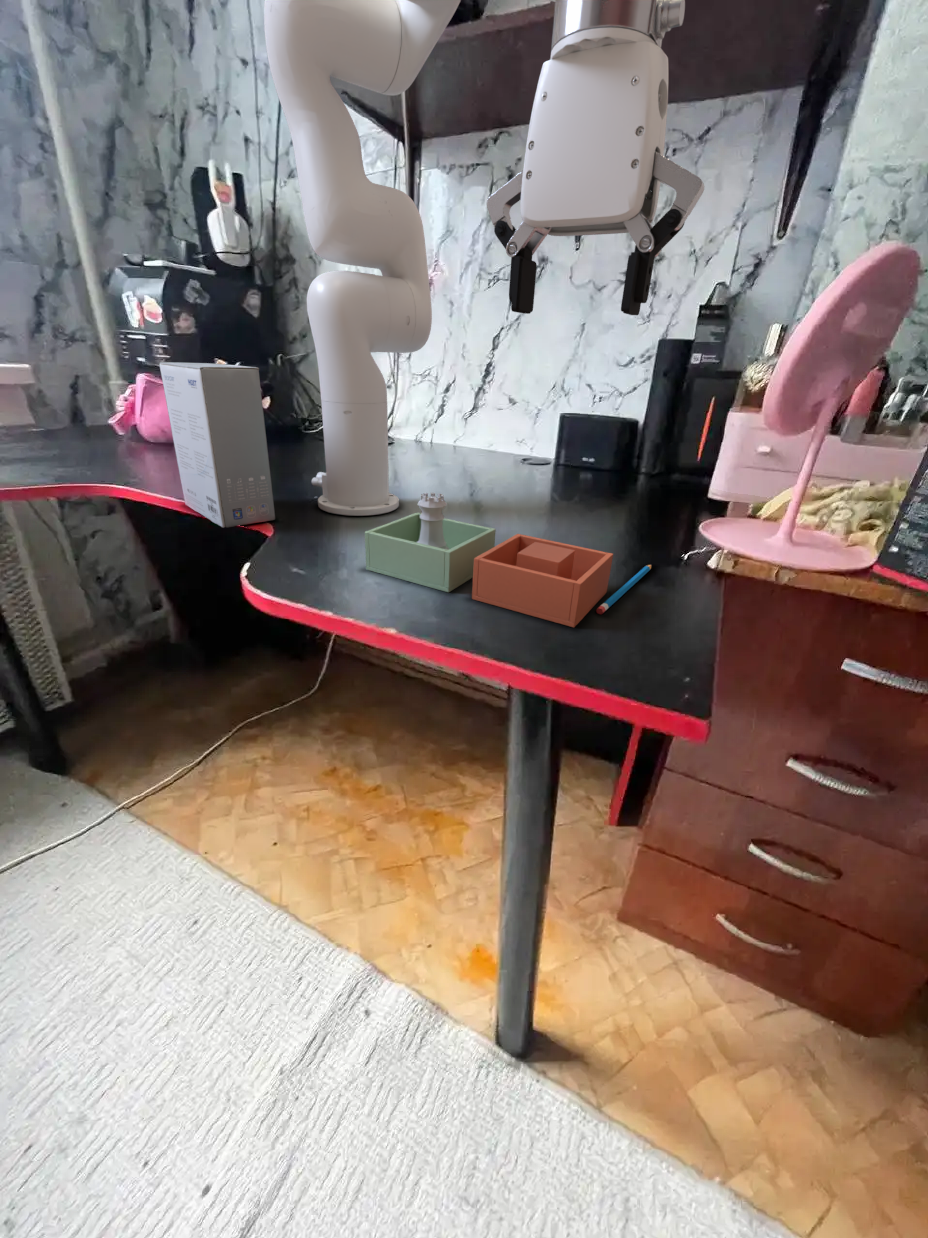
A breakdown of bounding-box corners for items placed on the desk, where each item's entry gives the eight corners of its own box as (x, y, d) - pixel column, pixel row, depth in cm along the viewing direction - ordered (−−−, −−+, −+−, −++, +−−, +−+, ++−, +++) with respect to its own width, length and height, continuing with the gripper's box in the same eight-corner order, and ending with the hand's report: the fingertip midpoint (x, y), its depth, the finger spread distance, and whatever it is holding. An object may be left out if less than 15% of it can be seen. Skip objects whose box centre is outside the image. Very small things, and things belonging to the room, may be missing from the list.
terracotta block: (513, 593, 57) (517, 552, 55) (531, 580, 61) (535, 541, 59) (553, 604, 55) (559, 562, 53) (569, 589, 59) (575, 550, 57)
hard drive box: (277, 521, 78) (260, 367, 69) (223, 530, 73) (197, 366, 64) (233, 498, 88) (213, 361, 79) (182, 505, 83) (155, 360, 74)
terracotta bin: (471, 599, 57) (473, 558, 55) (514, 570, 65) (517, 533, 63) (574, 627, 52) (580, 584, 50) (606, 592, 60) (613, 553, 58)
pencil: (595, 613, 55) (596, 607, 55) (647, 566, 68) (648, 561, 68) (602, 615, 55) (603, 609, 54) (653, 568, 67) (655, 562, 67)
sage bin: (365, 569, 63) (364, 531, 61) (416, 546, 71) (417, 512, 69) (448, 592, 58) (450, 552, 56) (493, 565, 66) (495, 528, 64)
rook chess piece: (445, 572, 62) (447, 501, 58) (407, 567, 62) (407, 498, 59) (454, 558, 66) (456, 492, 62) (418, 555, 66) (418, 489, 63)
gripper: (743, 36, 38) (687, 317, 46) (517, 80, 45) (502, 314, 53) (729, -23, 32) (668, 311, 40) (473, 38, 40) (463, 308, 47)
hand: (573, 313), depth 46 cm, fingers open, 9 cm apart
